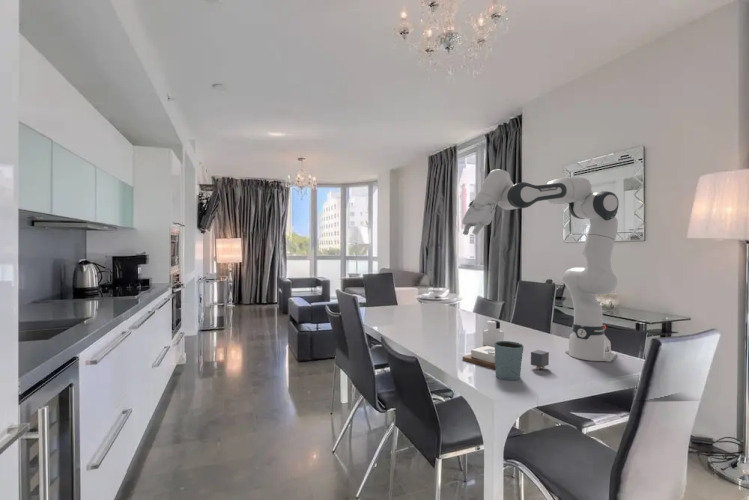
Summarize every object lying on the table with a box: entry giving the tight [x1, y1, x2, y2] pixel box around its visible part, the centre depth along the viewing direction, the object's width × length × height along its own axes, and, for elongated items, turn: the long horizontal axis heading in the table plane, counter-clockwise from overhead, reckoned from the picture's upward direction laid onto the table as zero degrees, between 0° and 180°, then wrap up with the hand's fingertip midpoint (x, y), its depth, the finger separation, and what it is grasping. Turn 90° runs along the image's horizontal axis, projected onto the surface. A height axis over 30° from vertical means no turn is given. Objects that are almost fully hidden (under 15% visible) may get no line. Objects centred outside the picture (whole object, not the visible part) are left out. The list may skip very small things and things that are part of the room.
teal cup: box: [494, 340, 525, 381], centre depth 146 cm, size 10×10×12 cm
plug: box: [530, 349, 550, 371], centre depth 156 cm, size 7×4×6 cm, turn 129°
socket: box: [470, 345, 495, 363], centre depth 166 cm, size 11×11×4 cm
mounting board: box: [462, 353, 496, 370], centre depth 166 cm, size 16×16×2 cm
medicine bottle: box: [482, 319, 505, 348], centre depth 192 cm, size 7×7×12 cm
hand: (469, 234), depth 163 cm, fingers open, 8 cm apart
